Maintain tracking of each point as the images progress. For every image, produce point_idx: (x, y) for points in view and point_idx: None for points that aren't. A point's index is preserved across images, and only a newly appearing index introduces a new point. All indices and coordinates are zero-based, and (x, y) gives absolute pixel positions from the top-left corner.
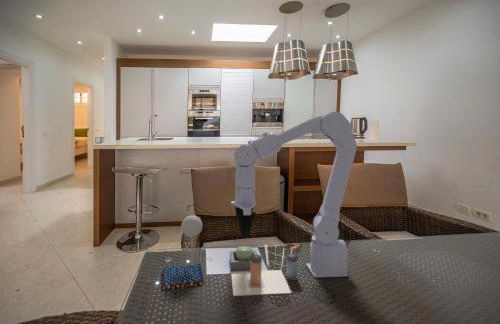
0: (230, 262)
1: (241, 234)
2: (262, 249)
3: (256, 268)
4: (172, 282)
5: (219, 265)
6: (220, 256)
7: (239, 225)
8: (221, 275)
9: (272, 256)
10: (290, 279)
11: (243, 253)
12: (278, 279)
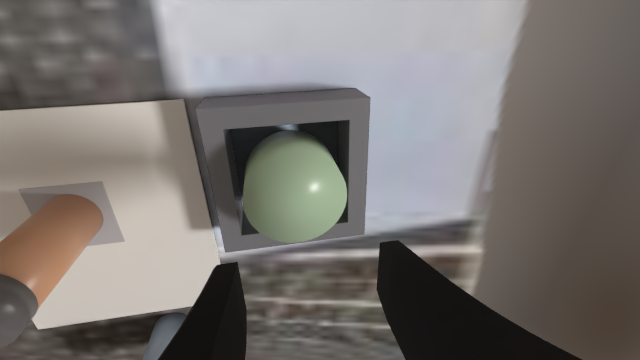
0: (269, 97)
1: (209, 276)
2: (441, 236)
3: None
4: None
5: (271, 26)
6: (395, 29)
7: (402, 268)
8: (137, 42)
9: (364, 271)
10: (154, 325)
11: (244, 194)
12: (140, 293)
